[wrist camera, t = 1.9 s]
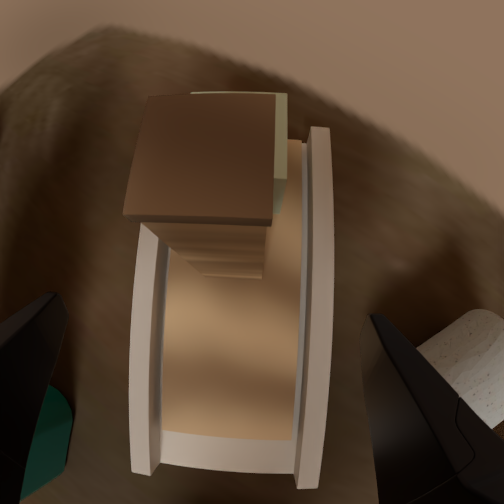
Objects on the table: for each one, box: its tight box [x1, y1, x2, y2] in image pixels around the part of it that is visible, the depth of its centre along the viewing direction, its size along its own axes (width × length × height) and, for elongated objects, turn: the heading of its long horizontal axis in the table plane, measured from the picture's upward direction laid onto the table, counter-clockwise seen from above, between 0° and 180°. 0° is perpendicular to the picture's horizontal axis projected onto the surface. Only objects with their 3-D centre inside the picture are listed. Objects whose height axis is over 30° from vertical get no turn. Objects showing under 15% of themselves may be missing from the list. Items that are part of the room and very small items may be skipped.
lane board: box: [129, 126, 334, 489], centre depth 19 cm, size 22×11×3 cm, turn 177°
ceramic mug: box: [416, 309, 504, 429], centre depth 15 cm, size 11×8×8 cm
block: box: [191, 91, 287, 214], centre depth 17 cm, size 5×5×5 cm
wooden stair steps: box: [123, 93, 302, 440], centre depth 13 cm, size 18×8×13 cm, turn 177°
